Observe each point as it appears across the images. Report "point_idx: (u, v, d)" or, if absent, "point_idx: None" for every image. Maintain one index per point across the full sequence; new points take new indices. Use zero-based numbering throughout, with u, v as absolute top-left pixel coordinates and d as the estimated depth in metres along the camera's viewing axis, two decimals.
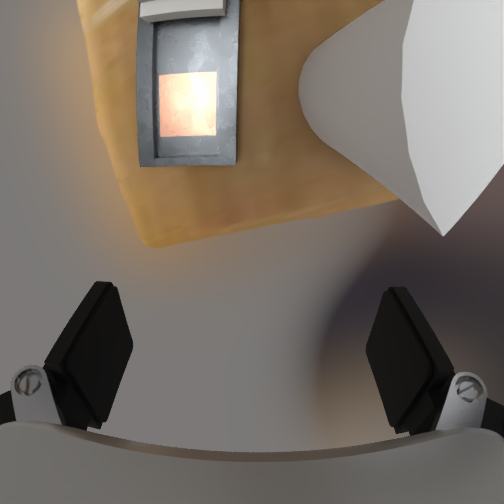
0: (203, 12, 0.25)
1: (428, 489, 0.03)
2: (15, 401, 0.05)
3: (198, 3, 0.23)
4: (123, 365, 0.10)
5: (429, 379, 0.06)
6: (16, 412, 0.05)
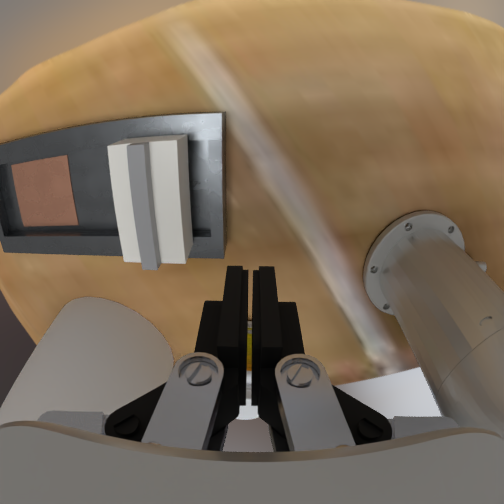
0: None
1: (428, 489, 0.03)
2: (170, 382, 0.06)
3: (128, 231, 0.21)
4: None
5: (258, 355, 0.07)
6: (163, 393, 0.06)
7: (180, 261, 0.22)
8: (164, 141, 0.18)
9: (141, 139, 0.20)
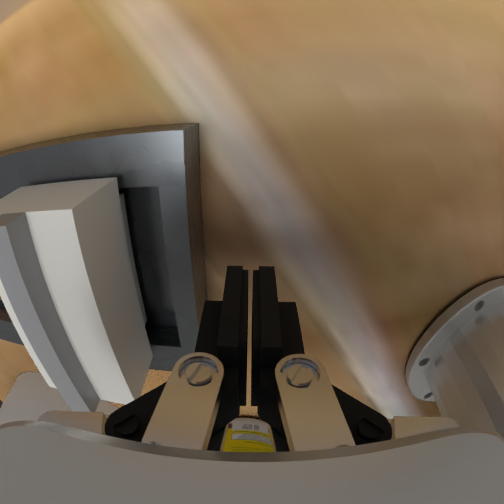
0: None
1: (428, 489, 0.03)
2: (170, 382, 0.06)
3: None
4: None
5: (258, 355, 0.07)
6: (164, 393, 0.06)
7: None
8: (51, 211, 0.07)
9: (31, 195, 0.09)
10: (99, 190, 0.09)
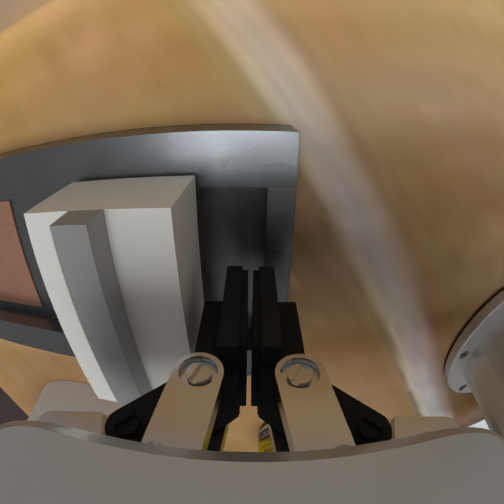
0: None
1: (428, 489, 0.03)
2: (170, 382, 0.06)
3: (94, 365, 0.10)
4: None
5: (258, 355, 0.07)
6: (164, 393, 0.06)
7: None
8: (140, 209, 0.07)
9: (96, 191, 0.09)
10: (186, 188, 0.09)
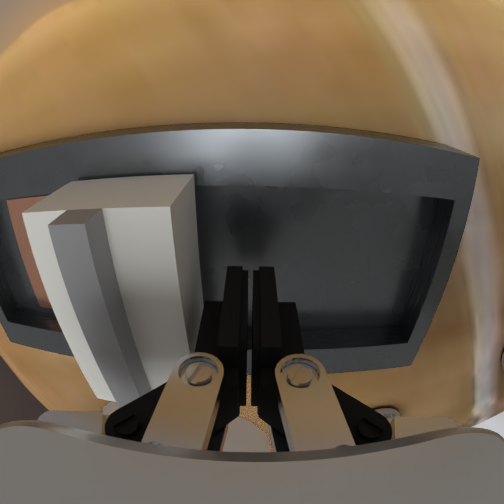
0: None
1: (428, 489, 0.03)
2: (170, 382, 0.06)
3: (93, 365, 0.10)
4: None
5: (258, 355, 0.07)
6: (164, 393, 0.06)
7: None
8: (139, 207, 0.07)
9: (94, 190, 0.09)
10: (185, 187, 0.09)
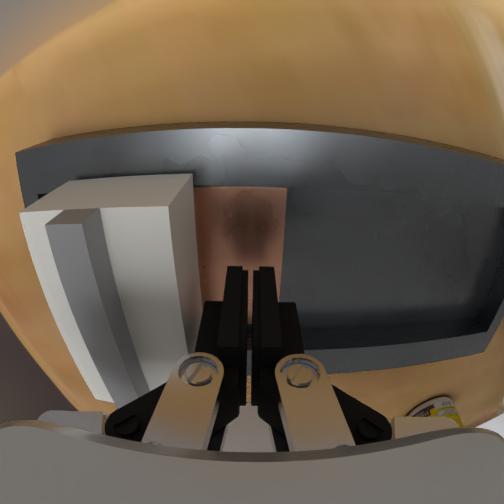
0: None
1: (428, 489, 0.03)
2: (170, 382, 0.06)
3: (91, 366, 0.10)
4: None
5: (258, 355, 0.07)
6: (164, 393, 0.06)
7: None
8: (137, 207, 0.07)
9: (92, 189, 0.09)
10: (183, 186, 0.09)
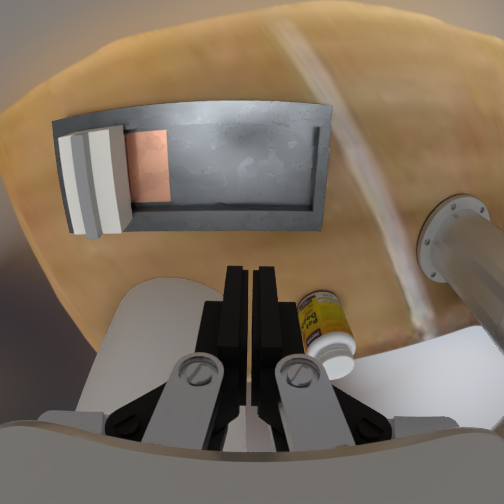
0: None
1: (428, 489, 0.03)
2: (170, 382, 0.06)
3: (76, 207, 0.23)
4: None
5: (258, 355, 0.07)
6: (164, 393, 0.06)
7: (117, 231, 0.25)
8: (99, 131, 0.20)
9: (85, 131, 0.22)
10: (116, 127, 0.22)
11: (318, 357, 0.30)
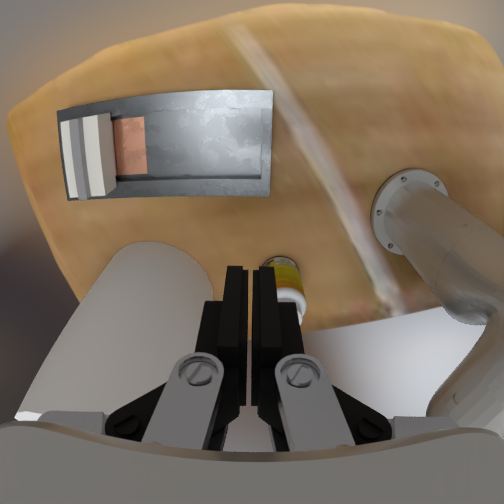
0: None
1: (428, 489, 0.03)
2: (170, 382, 0.06)
3: (71, 176, 0.29)
4: None
5: (258, 355, 0.07)
6: (164, 393, 0.06)
7: (102, 194, 0.30)
8: (90, 116, 0.26)
9: None
10: (104, 114, 0.28)
11: None
